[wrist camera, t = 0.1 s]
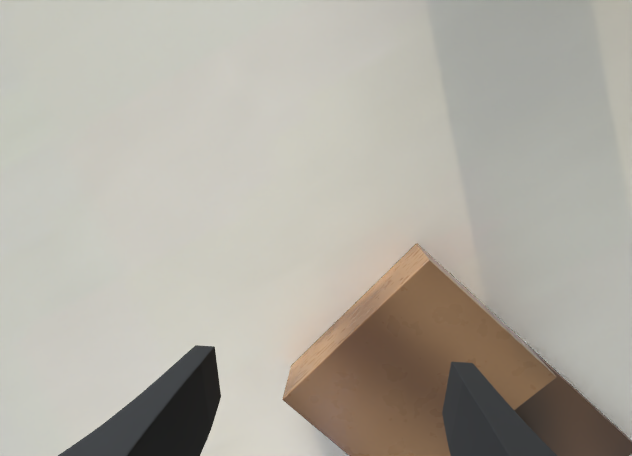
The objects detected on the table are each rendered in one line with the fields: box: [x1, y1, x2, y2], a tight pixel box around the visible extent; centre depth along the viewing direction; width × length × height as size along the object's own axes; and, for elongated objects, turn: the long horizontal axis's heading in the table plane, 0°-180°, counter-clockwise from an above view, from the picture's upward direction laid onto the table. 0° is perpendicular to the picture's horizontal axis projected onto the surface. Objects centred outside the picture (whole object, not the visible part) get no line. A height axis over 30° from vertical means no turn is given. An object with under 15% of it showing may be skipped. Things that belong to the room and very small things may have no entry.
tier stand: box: [283, 244, 632, 456], centre depth 21 cm, size 11×18×3 cm, turn 48°
